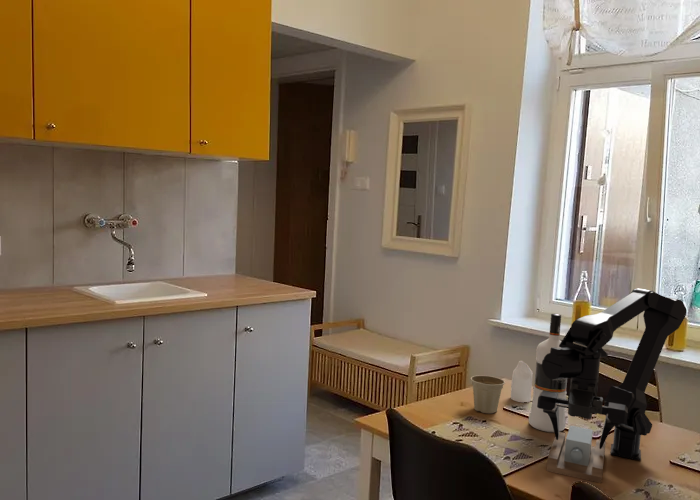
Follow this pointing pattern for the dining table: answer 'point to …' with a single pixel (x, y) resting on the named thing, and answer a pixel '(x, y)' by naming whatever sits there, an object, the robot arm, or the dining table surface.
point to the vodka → (547, 381)
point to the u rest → (573, 469)
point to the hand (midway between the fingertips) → (578, 443)
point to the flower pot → (486, 393)
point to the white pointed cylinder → (521, 383)
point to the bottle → (578, 445)
